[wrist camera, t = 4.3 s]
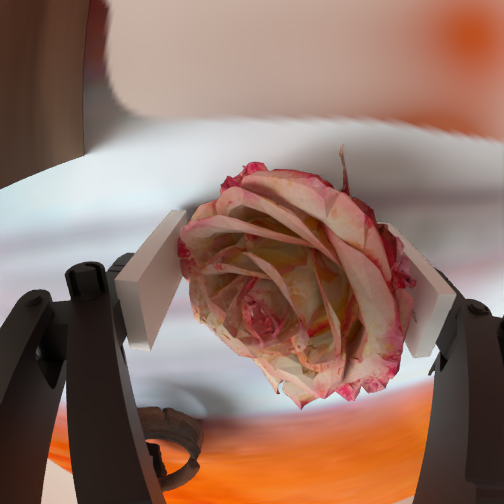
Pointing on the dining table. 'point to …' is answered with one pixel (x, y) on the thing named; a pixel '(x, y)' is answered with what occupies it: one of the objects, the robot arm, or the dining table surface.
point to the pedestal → (40, 85)
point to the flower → (300, 282)
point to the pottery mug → (176, 430)
